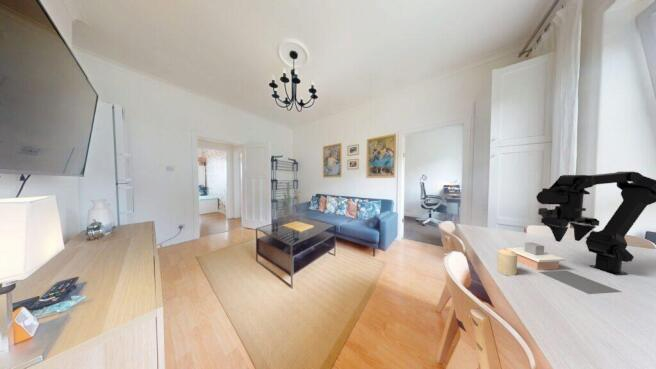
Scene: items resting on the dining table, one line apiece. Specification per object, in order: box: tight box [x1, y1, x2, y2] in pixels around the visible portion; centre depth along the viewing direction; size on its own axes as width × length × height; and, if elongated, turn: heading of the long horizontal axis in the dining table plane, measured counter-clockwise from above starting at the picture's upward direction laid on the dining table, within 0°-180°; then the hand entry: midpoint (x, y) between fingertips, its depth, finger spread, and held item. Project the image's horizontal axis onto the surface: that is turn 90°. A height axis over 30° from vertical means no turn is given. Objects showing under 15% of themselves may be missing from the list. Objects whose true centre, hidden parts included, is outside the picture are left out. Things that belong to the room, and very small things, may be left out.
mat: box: [538, 270, 623, 295], centre depth 65 cm, size 13×13×1 cm
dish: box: [516, 253, 560, 271], centre depth 78 cm, size 10×10×4 cm
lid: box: [507, 241, 566, 262], centre depth 77 cm, size 12×12×5 cm
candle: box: [496, 247, 518, 277], centre depth 71 cm, size 6×6×10 cm
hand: (567, 241), depth 74 cm, fingers open, 9 cm apart
